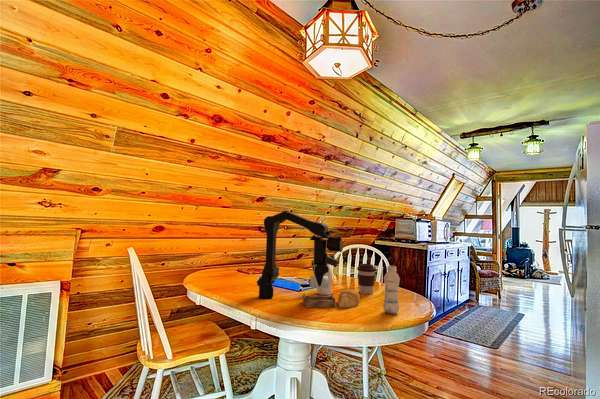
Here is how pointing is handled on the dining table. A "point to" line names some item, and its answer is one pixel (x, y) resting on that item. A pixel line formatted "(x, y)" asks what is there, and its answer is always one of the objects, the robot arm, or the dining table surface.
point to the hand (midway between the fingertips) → (318, 284)
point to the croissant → (348, 298)
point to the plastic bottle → (391, 291)
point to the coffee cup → (366, 278)
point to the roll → (314, 283)
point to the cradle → (318, 301)
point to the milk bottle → (328, 290)
